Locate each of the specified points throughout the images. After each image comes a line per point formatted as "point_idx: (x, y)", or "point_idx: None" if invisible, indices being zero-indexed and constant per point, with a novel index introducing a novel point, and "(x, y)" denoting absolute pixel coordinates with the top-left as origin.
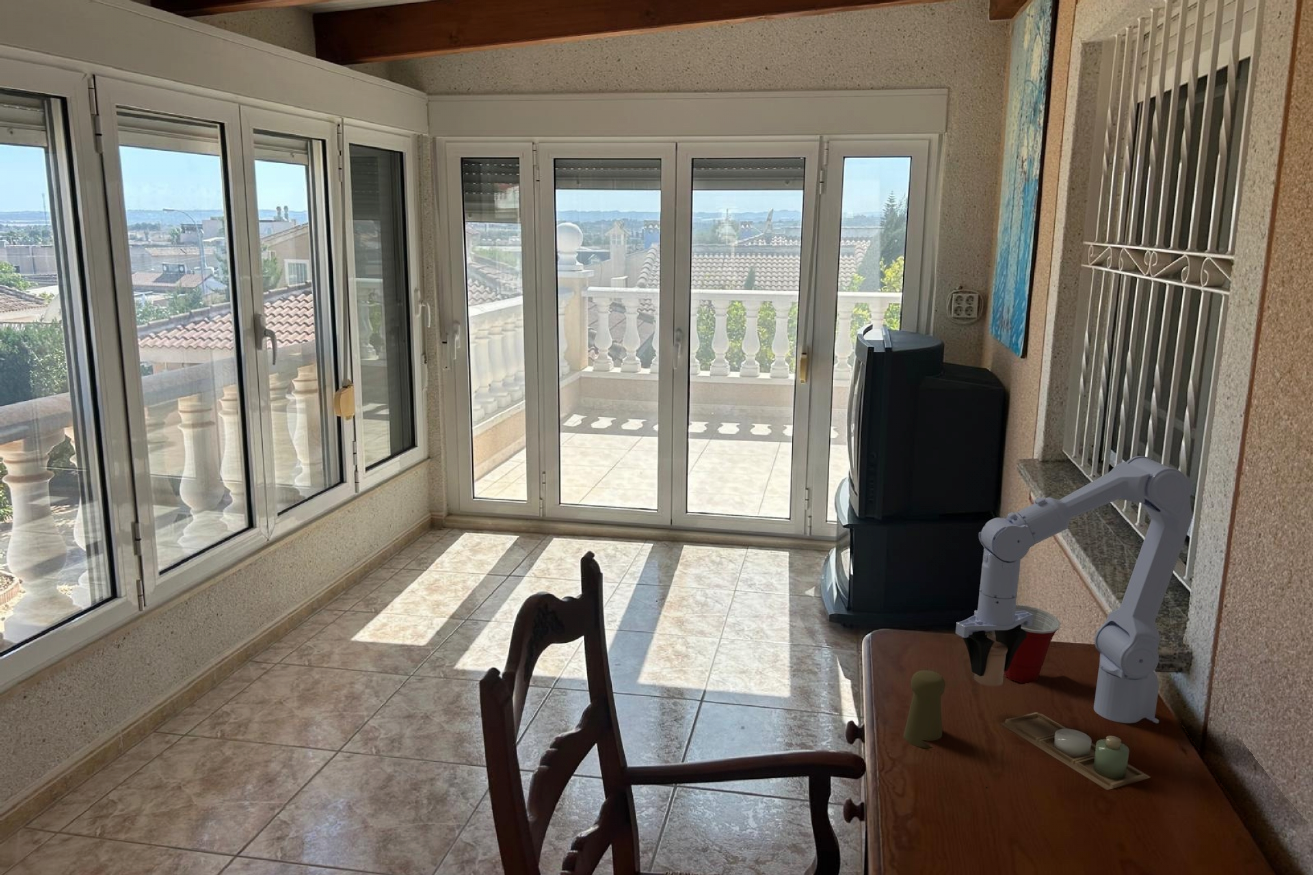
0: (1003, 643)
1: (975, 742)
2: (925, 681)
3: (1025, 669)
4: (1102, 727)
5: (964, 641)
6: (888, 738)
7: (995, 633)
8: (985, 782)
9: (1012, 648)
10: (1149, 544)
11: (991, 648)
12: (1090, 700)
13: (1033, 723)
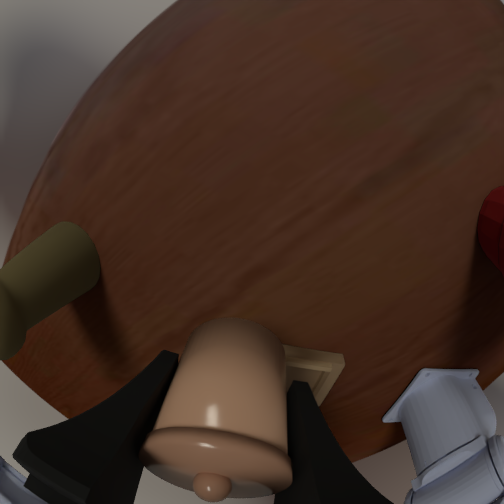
0: (292, 486)
1: (145, 325)
2: None
3: (496, 262)
4: (388, 402)
5: (64, 421)
6: (31, 222)
7: (317, 495)
8: (90, 372)
9: (276, 498)
10: None
11: (184, 477)
12: (470, 347)
13: (287, 376)
